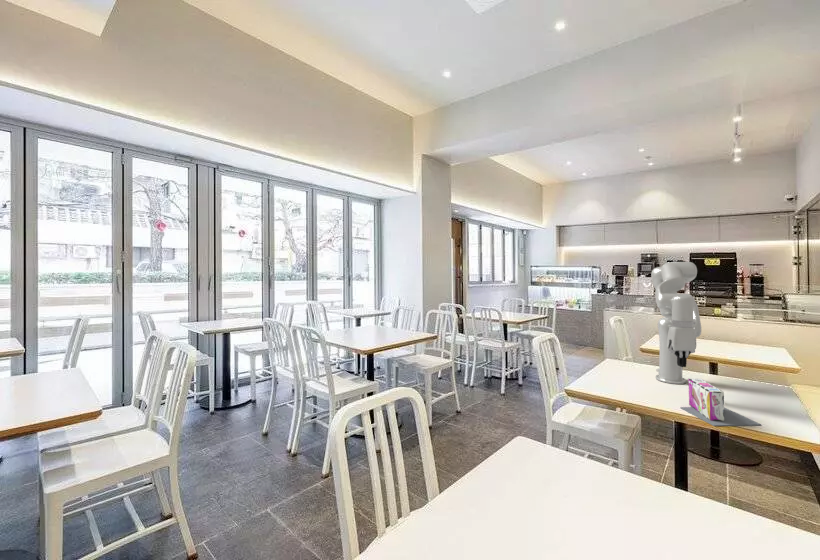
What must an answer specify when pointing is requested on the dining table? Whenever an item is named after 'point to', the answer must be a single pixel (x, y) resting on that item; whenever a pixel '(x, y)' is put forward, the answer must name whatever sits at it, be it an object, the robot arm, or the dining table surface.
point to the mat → (729, 418)
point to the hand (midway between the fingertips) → (681, 366)
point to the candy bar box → (706, 399)
